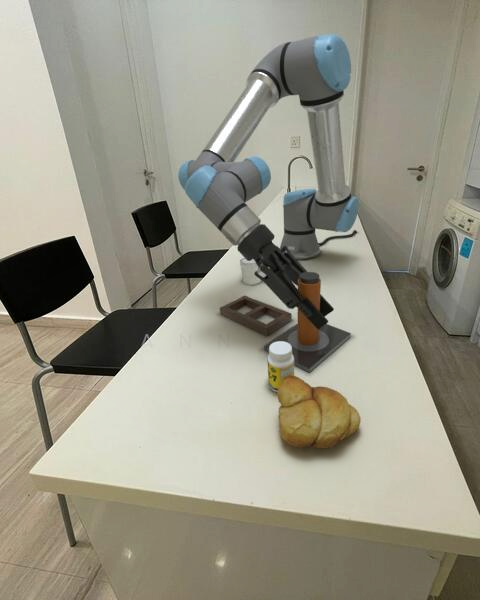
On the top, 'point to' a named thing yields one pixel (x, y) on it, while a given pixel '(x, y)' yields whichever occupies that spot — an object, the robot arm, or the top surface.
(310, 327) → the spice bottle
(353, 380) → the top surface
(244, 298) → the frame
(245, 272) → the white short cylinder
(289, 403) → the bread roll
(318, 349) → the hob plate
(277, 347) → the supplement bottle
